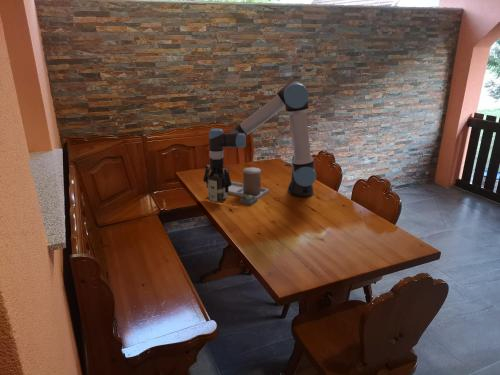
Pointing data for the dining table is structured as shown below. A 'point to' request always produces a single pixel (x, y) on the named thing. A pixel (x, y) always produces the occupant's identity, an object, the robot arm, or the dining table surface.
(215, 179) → the coffee can
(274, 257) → the dining table surface
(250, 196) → the button
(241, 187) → the pallet board
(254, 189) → the seated tin
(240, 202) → the button box
